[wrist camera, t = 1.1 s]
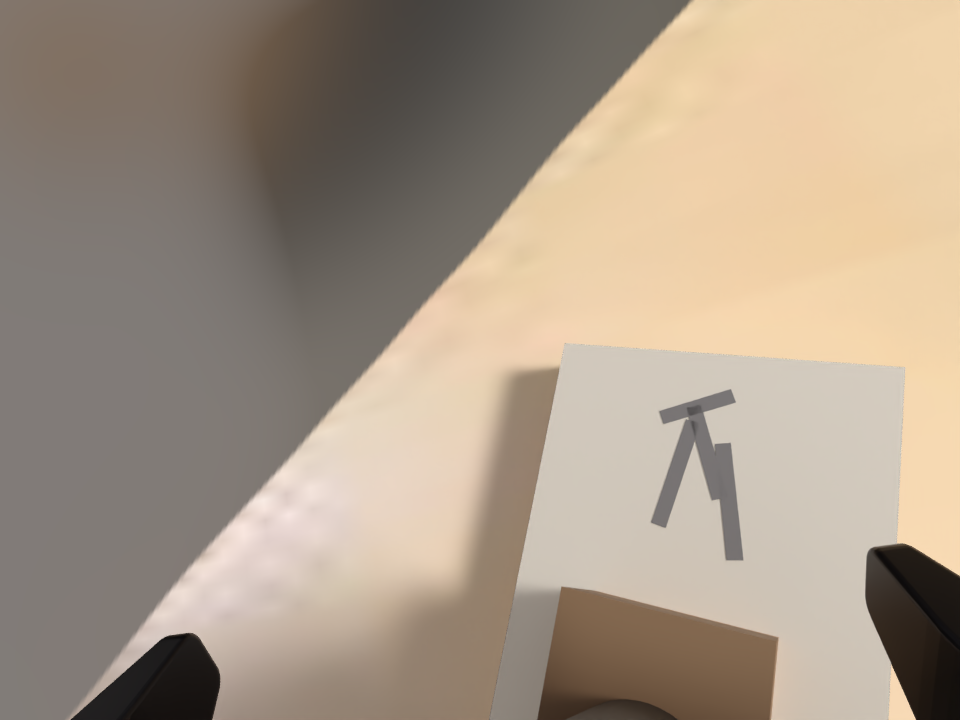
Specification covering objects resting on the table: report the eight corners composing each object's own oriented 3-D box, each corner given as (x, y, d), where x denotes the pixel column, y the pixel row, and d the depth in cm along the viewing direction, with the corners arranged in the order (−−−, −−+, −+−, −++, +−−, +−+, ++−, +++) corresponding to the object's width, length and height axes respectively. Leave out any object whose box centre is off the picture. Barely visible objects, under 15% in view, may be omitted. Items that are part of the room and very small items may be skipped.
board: (862, 1001, 14) (872, 1055, 12) (493, 829, 18) (462, 852, 16) (894, 391, 18) (905, 367, 16) (582, 364, 22) (564, 343, 20)
